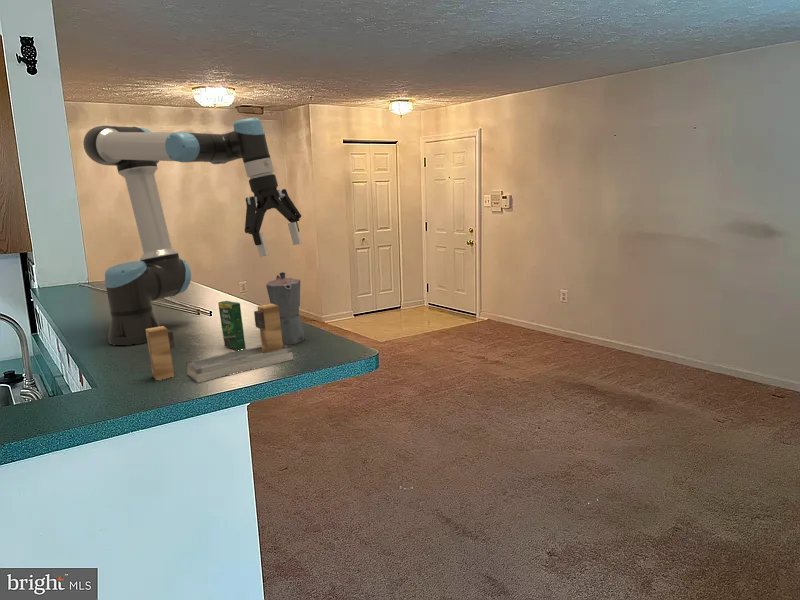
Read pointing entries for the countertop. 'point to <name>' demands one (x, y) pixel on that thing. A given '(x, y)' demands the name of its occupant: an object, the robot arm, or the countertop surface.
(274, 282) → the moka pot
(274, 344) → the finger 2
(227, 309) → the coffee box
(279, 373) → the countertop surface
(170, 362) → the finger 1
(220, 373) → the rail
